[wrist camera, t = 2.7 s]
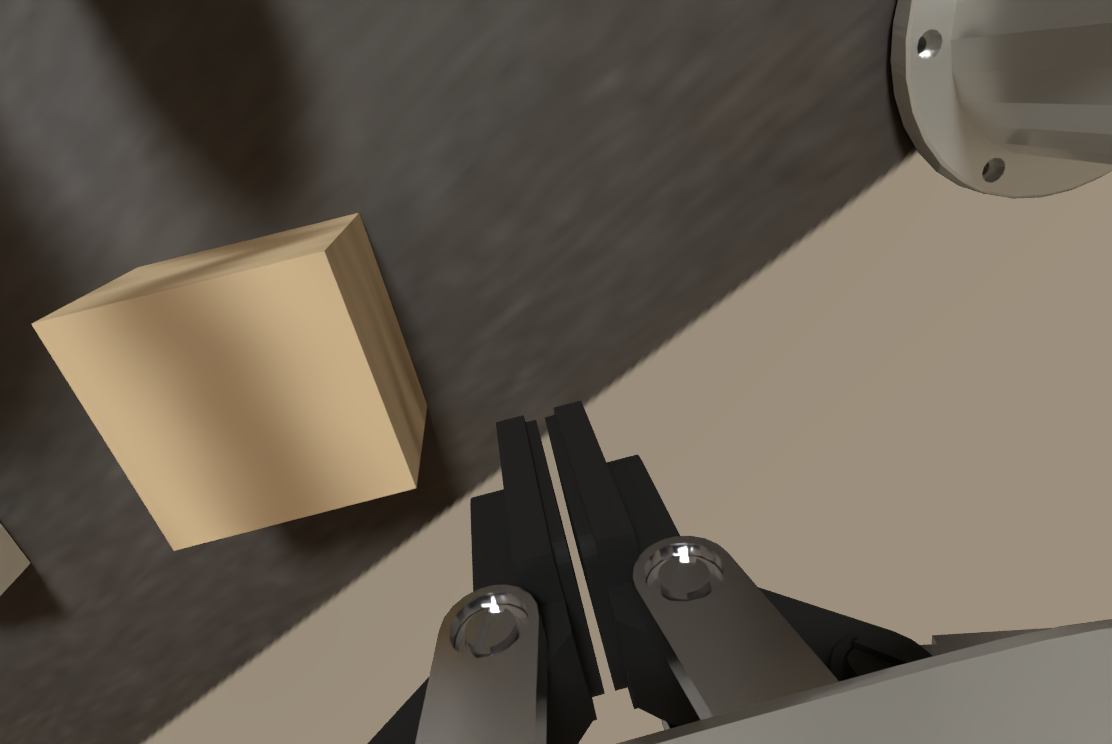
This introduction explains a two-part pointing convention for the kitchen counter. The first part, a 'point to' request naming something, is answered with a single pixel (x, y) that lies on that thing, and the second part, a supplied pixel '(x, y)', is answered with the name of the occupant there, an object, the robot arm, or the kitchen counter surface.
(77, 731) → the kitchen counter surface
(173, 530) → the block
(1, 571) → the batten
